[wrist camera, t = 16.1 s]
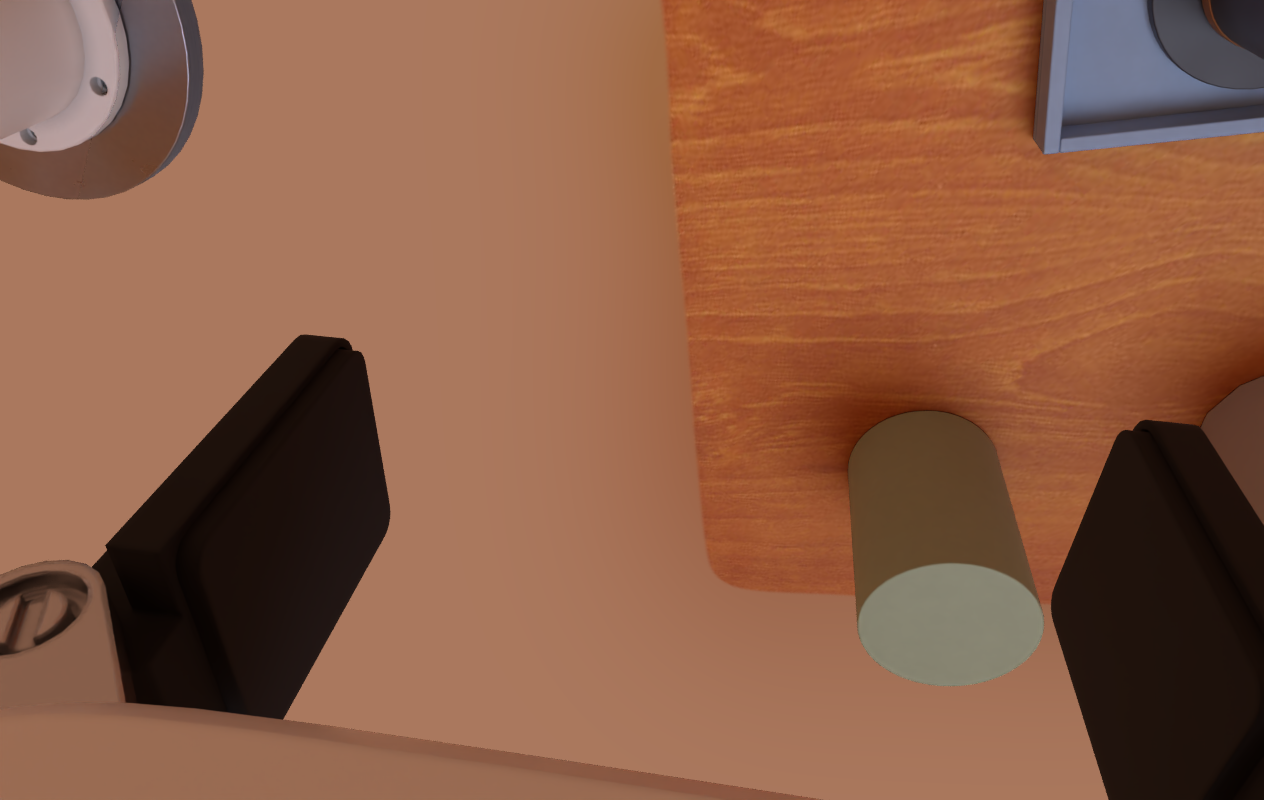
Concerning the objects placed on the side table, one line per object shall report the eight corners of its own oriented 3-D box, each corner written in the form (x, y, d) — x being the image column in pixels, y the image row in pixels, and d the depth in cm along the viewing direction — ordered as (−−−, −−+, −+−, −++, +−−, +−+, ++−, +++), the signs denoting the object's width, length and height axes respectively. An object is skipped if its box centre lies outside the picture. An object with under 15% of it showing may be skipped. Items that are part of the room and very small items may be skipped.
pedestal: (818, 478, 49) (821, 633, 40) (914, 384, 44) (942, 534, 35) (927, 544, 50) (954, 709, 41) (1030, 460, 46) (1085, 623, 37)
